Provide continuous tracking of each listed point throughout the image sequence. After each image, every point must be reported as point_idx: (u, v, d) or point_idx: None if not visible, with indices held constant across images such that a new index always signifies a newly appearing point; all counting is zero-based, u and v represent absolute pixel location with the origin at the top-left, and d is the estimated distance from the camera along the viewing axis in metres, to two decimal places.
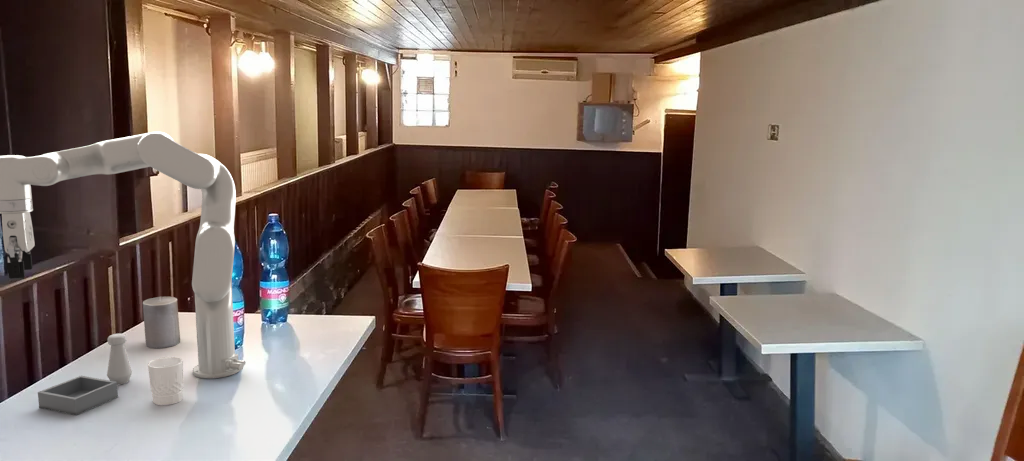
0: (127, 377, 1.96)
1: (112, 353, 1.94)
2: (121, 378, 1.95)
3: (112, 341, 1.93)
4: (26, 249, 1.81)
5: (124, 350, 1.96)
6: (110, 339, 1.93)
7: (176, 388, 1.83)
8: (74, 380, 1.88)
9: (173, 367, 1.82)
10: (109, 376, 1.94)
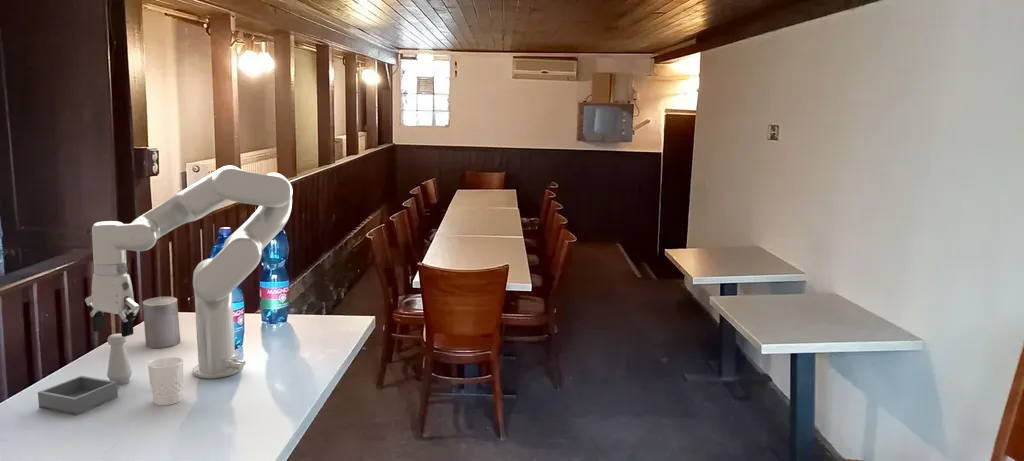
0: (127, 377, 1.96)
1: (112, 353, 1.94)
2: (121, 378, 1.95)
3: (112, 341, 1.93)
4: None
5: (124, 350, 1.96)
6: (110, 339, 1.93)
7: (176, 388, 1.83)
8: (74, 380, 1.88)
9: (173, 367, 1.82)
10: (109, 376, 1.94)
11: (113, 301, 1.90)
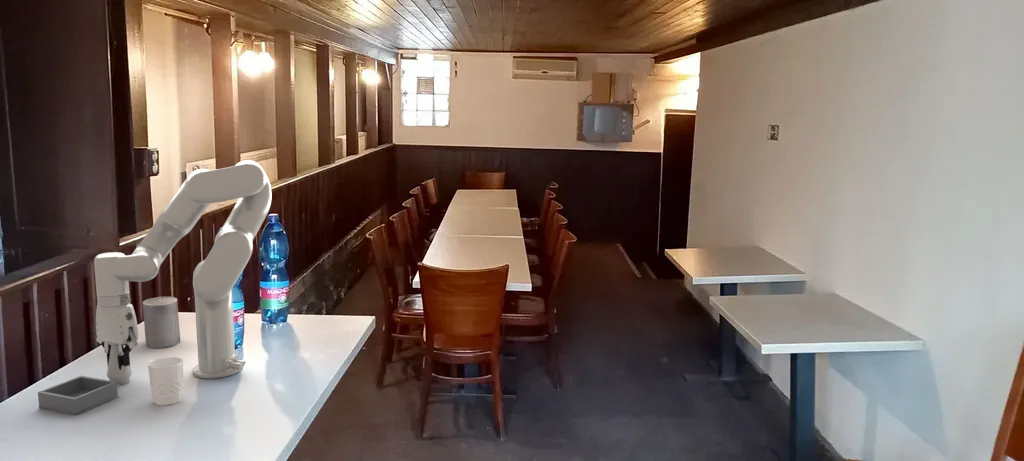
0: (127, 377, 1.96)
1: (112, 353, 1.94)
2: (121, 378, 1.95)
3: None
4: None
5: None
6: None
7: (176, 388, 1.83)
8: (74, 380, 1.88)
9: (173, 367, 1.82)
10: (109, 376, 1.94)
11: (117, 332, 1.92)
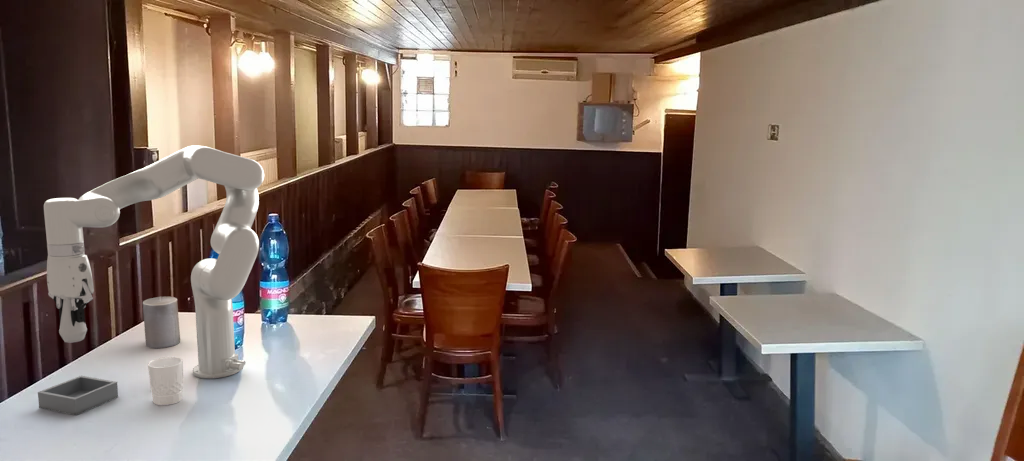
0: (81, 334, 1.80)
1: (64, 308, 1.78)
2: (75, 335, 1.78)
3: None
4: (93, 291, 1.80)
5: None
6: None
7: (176, 388, 1.83)
8: (74, 380, 1.88)
9: (173, 367, 1.82)
10: (61, 333, 1.78)
11: (70, 284, 1.75)
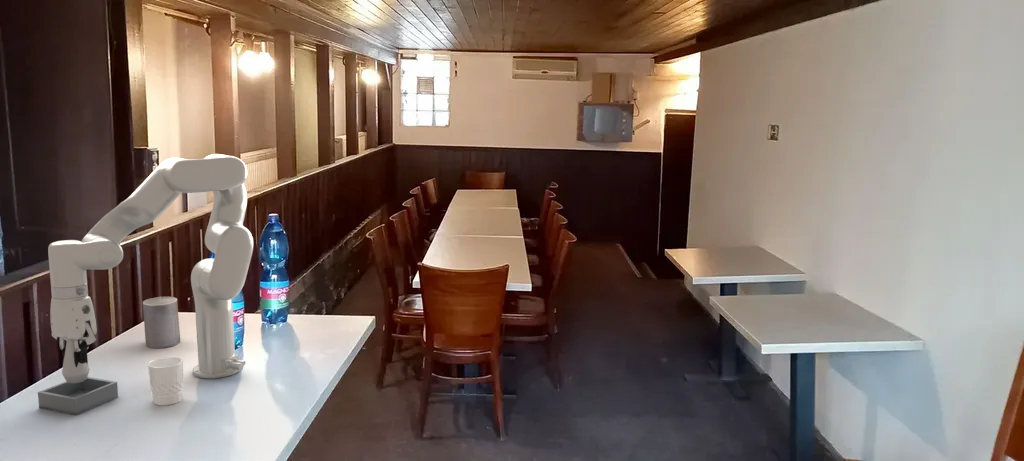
0: (84, 375, 1.81)
1: (67, 349, 1.79)
2: (77, 376, 1.80)
3: None
4: (96, 332, 1.81)
5: None
6: None
7: (176, 388, 1.83)
8: None
9: (173, 367, 1.82)
10: (64, 374, 1.79)
11: (73, 326, 1.77)
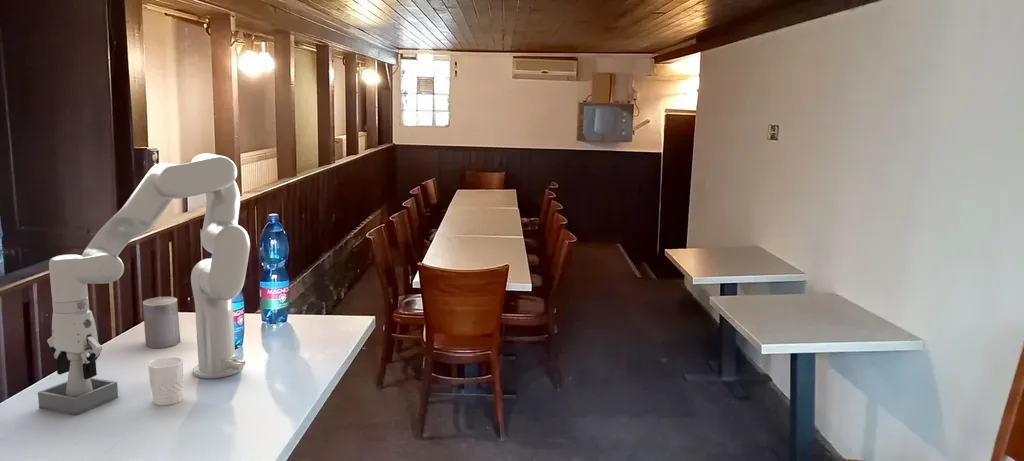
0: None
1: (71, 369, 1.80)
2: None
3: (72, 356, 1.79)
4: None
5: None
6: (69, 354, 1.80)
7: (176, 388, 1.83)
8: None
9: (173, 367, 1.82)
10: (68, 394, 1.80)
11: (74, 340, 1.78)
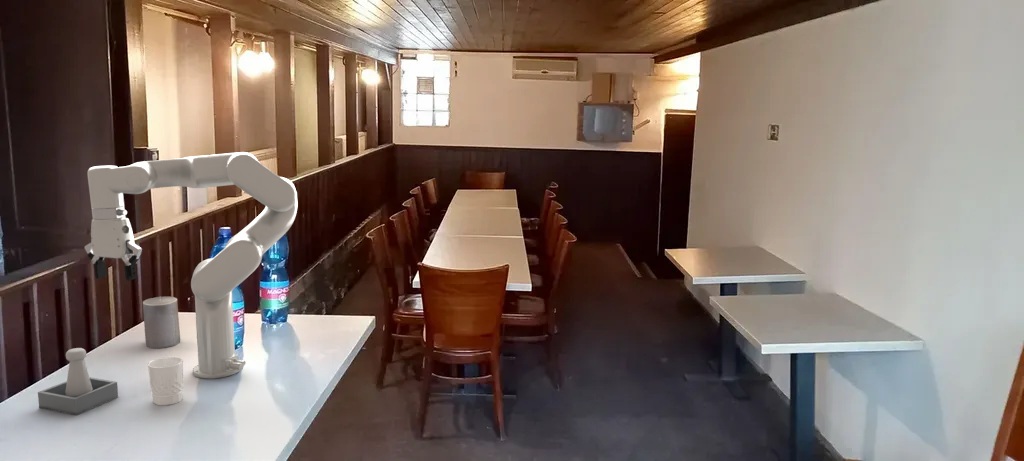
0: None
1: (70, 369, 1.80)
2: None
3: (71, 356, 1.79)
4: None
5: (84, 366, 1.82)
6: (68, 354, 1.80)
7: (176, 388, 1.83)
8: None
9: (173, 367, 1.82)
10: (67, 394, 1.80)
11: (115, 245, 1.89)
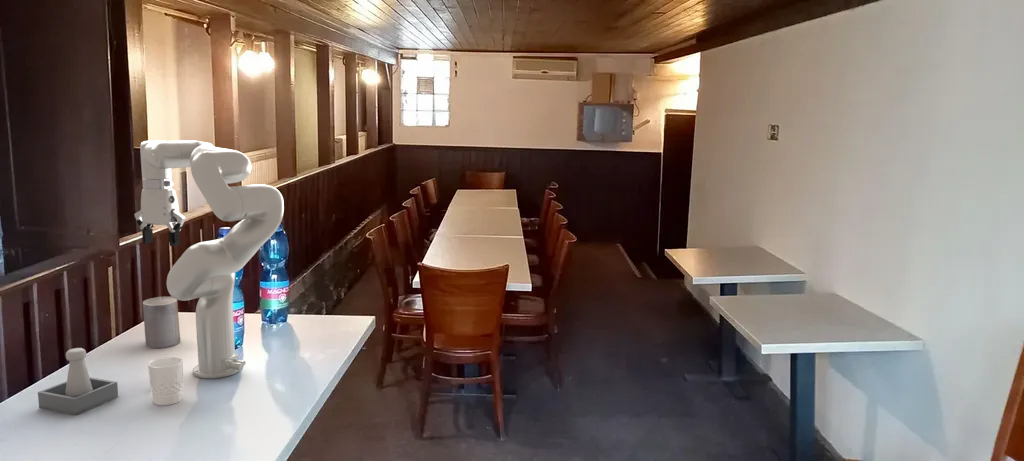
0: None
1: (70, 369, 1.80)
2: None
3: (71, 356, 1.79)
4: None
5: (84, 366, 1.82)
6: (68, 354, 1.80)
7: (176, 388, 1.83)
8: None
9: (173, 367, 1.82)
10: (67, 394, 1.80)
11: (161, 213, 2.08)
